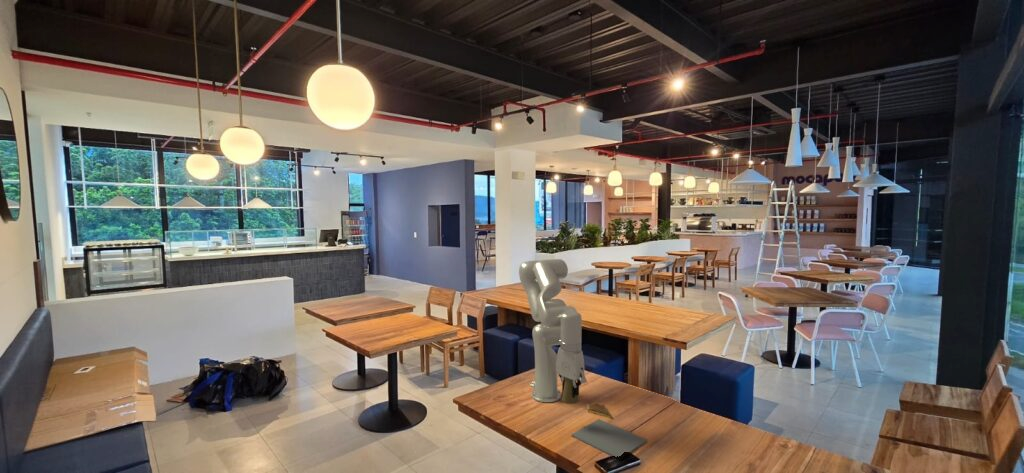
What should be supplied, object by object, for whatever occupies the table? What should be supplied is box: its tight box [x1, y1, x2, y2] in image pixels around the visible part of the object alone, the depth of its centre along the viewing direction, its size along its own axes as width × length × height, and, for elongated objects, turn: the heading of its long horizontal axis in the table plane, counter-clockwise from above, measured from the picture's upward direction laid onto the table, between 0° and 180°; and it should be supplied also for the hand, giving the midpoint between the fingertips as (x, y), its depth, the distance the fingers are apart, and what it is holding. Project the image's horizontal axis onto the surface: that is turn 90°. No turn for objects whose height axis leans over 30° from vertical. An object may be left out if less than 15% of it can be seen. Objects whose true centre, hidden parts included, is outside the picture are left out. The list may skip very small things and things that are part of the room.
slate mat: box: [570, 418, 648, 457], centre depth 146 cm, size 20×16×1 cm
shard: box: [586, 402, 613, 419], centre depth 165 cm, size 11×8×2 cm
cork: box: [561, 377, 580, 405], centre depth 155 cm, size 6×6×11 cm
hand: (570, 393), depth 155 cm, fingers closed on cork, 3 cm apart
